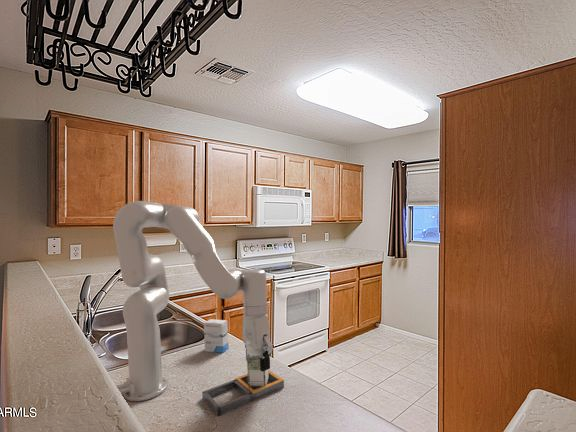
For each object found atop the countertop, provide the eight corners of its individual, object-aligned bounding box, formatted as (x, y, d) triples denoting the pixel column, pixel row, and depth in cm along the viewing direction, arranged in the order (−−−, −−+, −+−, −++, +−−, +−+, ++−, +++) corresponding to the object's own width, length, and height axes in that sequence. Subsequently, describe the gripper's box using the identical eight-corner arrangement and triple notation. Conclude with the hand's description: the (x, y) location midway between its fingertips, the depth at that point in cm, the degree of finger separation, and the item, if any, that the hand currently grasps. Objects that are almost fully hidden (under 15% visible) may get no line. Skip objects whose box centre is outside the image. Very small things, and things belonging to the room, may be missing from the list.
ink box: (229, 348, 130) (227, 319, 130) (222, 353, 126) (221, 323, 126) (211, 346, 133) (209, 318, 133) (204, 351, 128) (203, 322, 129)
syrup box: (269, 377, 102) (267, 332, 102) (266, 387, 96) (264, 339, 96) (251, 377, 103) (249, 332, 103) (247, 387, 97) (245, 340, 97)
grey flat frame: (217, 416, 85) (217, 407, 85) (202, 398, 94) (202, 390, 94) (283, 387, 98) (283, 379, 98) (265, 374, 107) (264, 367, 107)
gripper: (232, 306, 104) (234, 359, 104) (259, 318, 90) (262, 379, 90) (252, 301, 109) (254, 352, 109) (281, 312, 95) (283, 371, 95)
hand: (257, 364), depth 100 cm, fingers closed on syrup box, 8 cm apart
